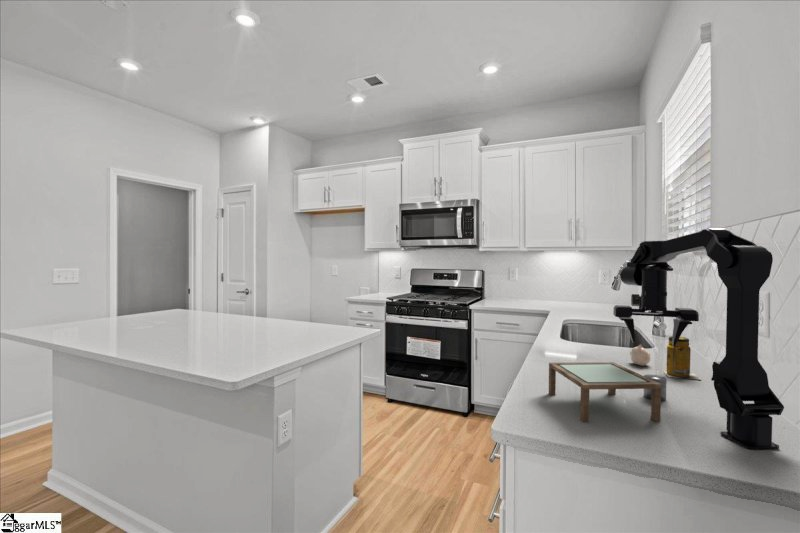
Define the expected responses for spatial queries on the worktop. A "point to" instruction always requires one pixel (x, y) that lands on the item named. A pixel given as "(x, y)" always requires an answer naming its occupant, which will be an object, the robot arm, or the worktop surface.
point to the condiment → (679, 359)
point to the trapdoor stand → (606, 387)
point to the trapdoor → (601, 373)
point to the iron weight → (663, 386)
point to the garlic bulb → (640, 356)
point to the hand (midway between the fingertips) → (653, 344)
